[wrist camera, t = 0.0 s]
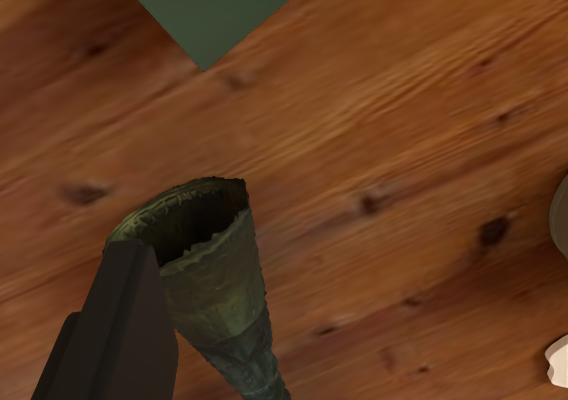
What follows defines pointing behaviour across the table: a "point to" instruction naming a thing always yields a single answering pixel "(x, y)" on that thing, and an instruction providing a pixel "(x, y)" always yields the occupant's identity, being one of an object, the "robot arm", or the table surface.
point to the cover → (210, 24)
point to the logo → (558, 362)
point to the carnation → (212, 278)
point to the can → (560, 217)
